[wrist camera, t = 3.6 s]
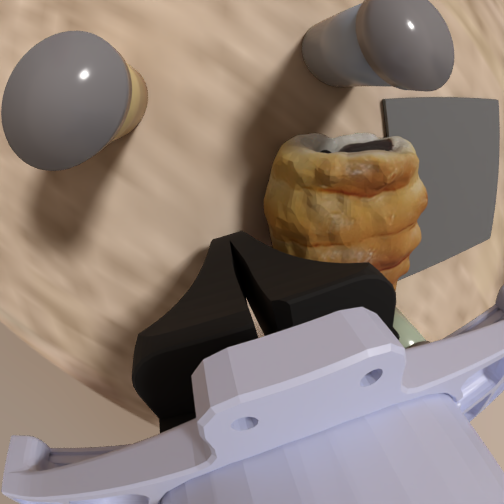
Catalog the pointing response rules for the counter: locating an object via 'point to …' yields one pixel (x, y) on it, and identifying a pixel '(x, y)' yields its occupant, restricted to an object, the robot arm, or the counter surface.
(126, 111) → the jar mustard
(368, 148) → the pastry
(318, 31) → the jar slate blue
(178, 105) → the counter surface
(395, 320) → the jar sage
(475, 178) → the slate mat
